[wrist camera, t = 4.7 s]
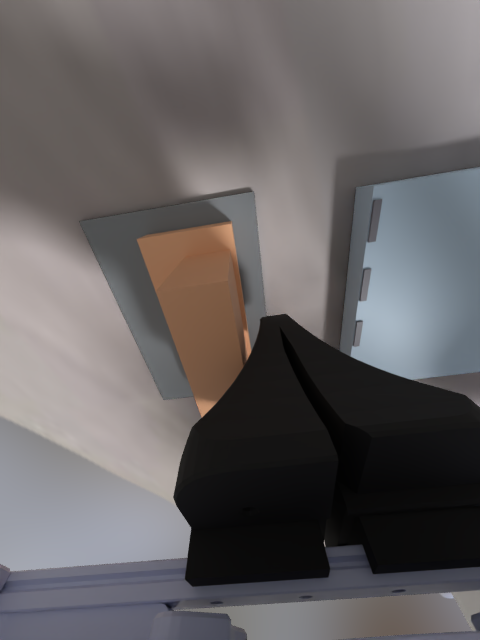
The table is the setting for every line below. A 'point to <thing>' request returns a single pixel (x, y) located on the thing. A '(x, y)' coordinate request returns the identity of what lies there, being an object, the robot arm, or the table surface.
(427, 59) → the table surface
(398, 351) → the light blue notched panel
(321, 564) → the robot arm
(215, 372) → the stub
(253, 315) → the pad
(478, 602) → the tall white rectangular box
